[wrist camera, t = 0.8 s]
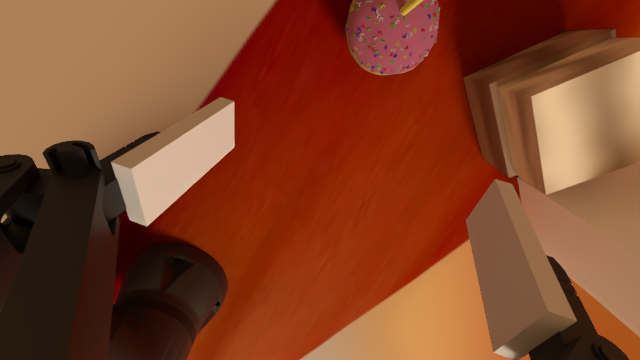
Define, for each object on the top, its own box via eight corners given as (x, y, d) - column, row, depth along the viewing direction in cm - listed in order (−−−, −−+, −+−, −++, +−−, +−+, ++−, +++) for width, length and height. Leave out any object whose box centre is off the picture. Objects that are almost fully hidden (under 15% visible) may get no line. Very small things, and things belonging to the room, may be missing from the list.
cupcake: (358, -31, 28) (379, -77, 17) (437, -5, 29) (505, -33, 18) (333, 59, 32) (339, 69, 21) (404, 80, 33) (445, 100, 22)
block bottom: (481, 158, 37) (508, 177, 32) (461, 77, 33) (489, 84, 27) (572, 122, 35) (618, 137, 29) (564, 31, 31) (615, 28, 25)
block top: (514, 173, 31) (545, 194, 27) (497, 87, 27) (530, 96, 23) (614, 135, 29) (667, 152, 25) (611, 37, 26) (673, 37, 21)
